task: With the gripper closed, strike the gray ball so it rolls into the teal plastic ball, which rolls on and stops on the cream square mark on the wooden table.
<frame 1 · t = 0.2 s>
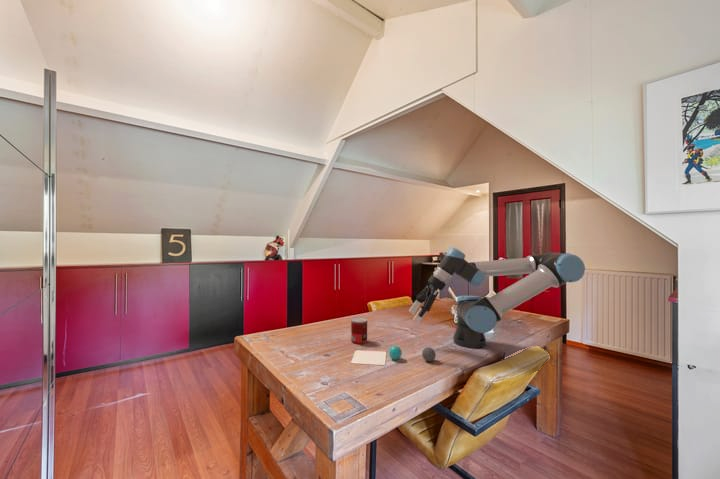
hand: (413, 317, 135), 15 cm above the table, tool tilted 35°, fingers open, 13 cm apart
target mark: (369, 357, 127), on the table
canned food: (359, 342, 147), on the table
object ball: (395, 352, 126), on the table
gray ball: (428, 354, 124), on the table
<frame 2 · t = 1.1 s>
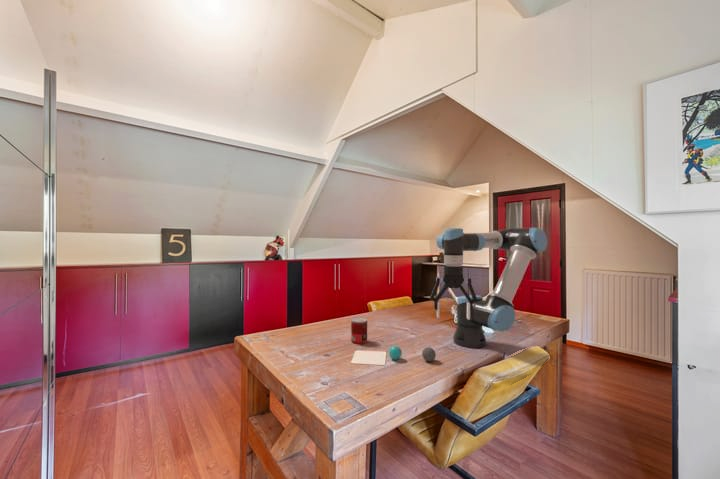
hand: (453, 318, 123), 18 cm above the table, tool pointing down, fingers open, 11 cm apart
nothing on the table moved.
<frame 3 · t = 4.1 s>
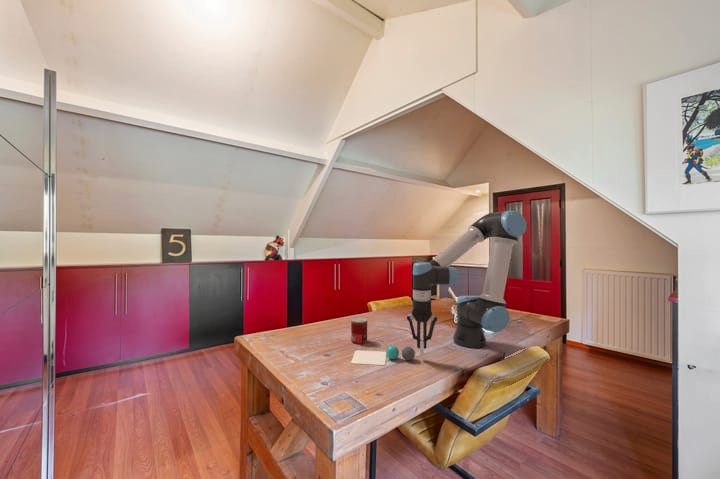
hand: (421, 355, 124), 2 cm above the table, tool pointing down, fingers closed
object ball: (392, 352, 126), on the table
gray ball: (408, 353, 125), on the table
everything else where it was.
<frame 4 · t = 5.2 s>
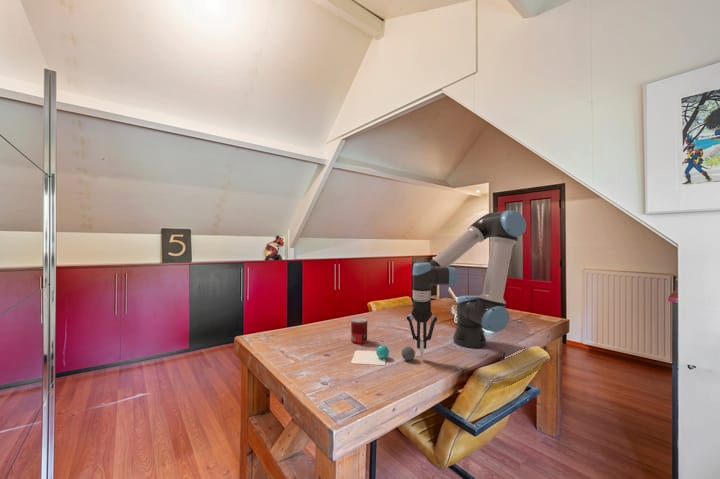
hand: (421, 355, 124), 2 cm above the table, tool pointing down, fingers closed
object ball: (382, 351, 126), on the table
everything else where it was.
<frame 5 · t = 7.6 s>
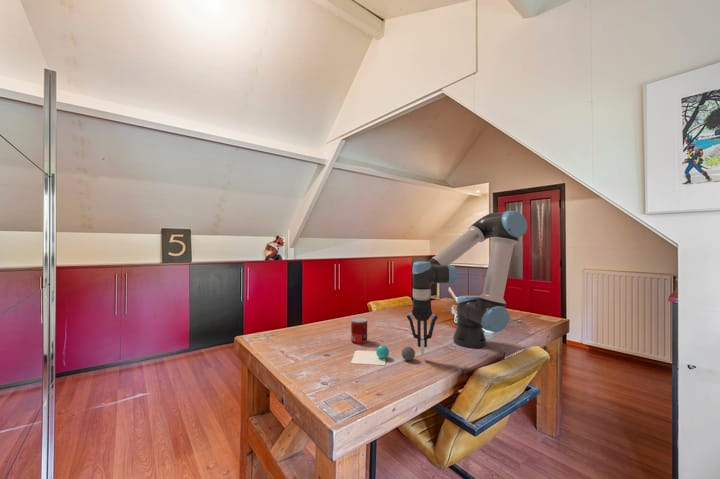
hand: (422, 354, 124), 2 cm above the table, tool pointing down, fingers closed
nothing on the table moved.
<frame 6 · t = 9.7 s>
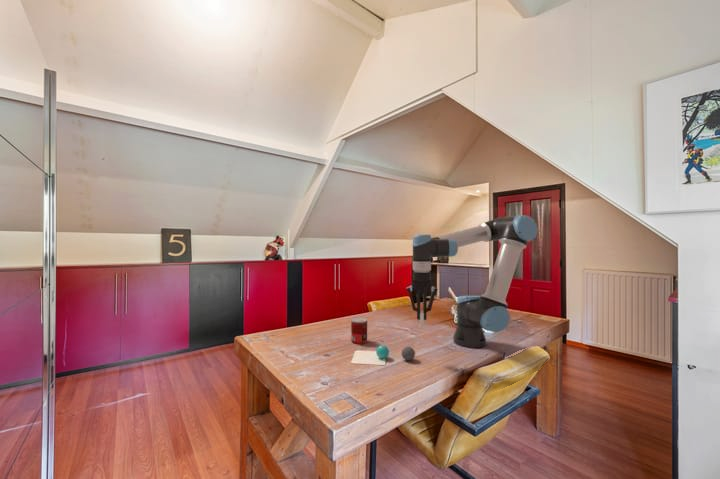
hand: (421, 327, 124), 14 cm above the table, tool pointing down, fingers closed
nothing on the table moved.
at the end: object ball 5.6 cm from the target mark (horizontally); object ball never touched the robot; gray ball first touched object ball at 4.0 s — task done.
